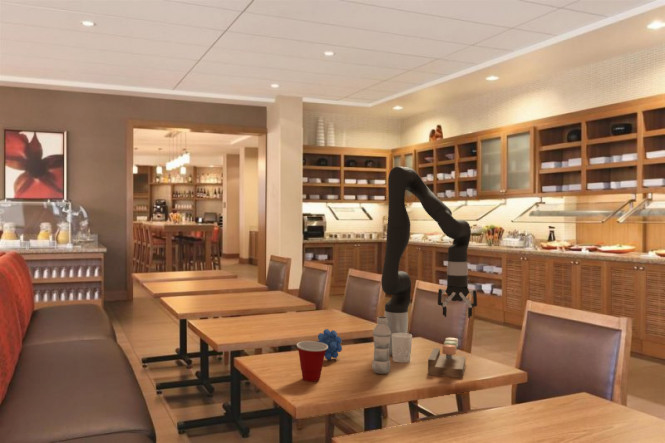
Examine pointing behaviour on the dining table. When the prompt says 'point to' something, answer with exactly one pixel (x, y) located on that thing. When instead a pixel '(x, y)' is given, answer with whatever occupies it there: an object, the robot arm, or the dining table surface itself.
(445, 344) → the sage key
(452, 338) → the ivory key
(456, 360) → the brown wooden block
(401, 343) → the white cup
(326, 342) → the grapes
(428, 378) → the dining table surface
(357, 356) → the dining table surface
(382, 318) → the plastic bottle
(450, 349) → the peach rounded block
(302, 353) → the plastic cup
